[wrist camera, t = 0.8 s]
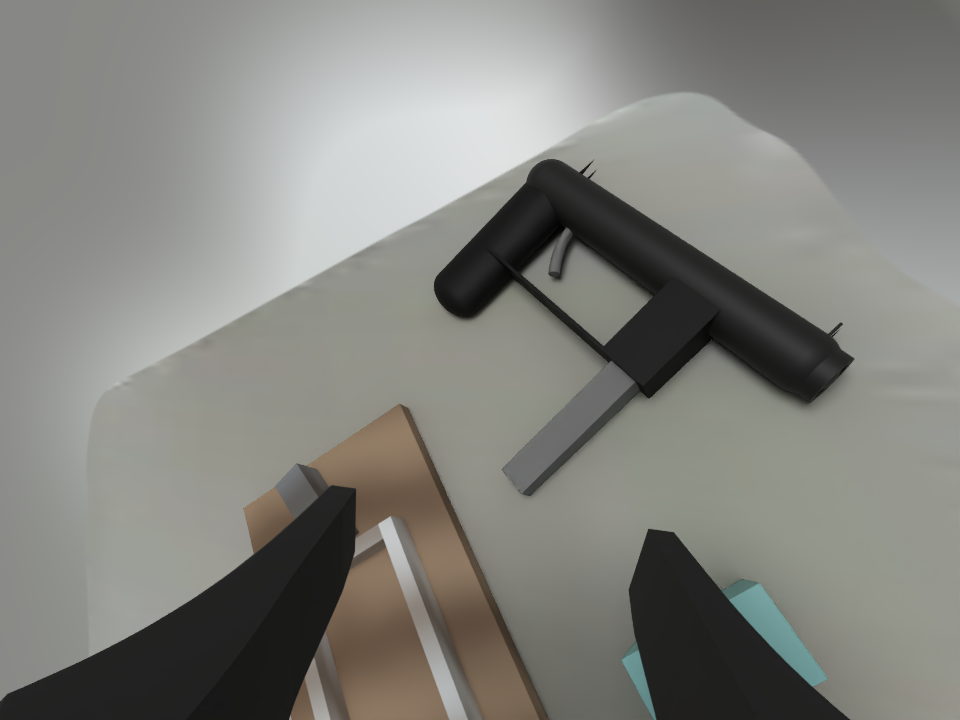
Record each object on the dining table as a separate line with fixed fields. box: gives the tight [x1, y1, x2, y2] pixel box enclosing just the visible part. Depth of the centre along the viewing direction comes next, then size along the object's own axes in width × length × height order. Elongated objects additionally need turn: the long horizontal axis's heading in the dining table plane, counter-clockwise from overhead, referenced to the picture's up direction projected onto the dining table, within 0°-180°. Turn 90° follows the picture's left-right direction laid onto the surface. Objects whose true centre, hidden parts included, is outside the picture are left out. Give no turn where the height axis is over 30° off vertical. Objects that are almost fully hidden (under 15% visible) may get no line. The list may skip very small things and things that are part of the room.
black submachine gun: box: [434, 159, 854, 496], centre depth 28 cm, size 3×20×16 cm
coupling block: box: [621, 579, 828, 720], centre depth 19 cm, size 3×5×7 cm, turn 117°
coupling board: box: [244, 404, 548, 720], centre depth 25 cm, size 23×12×3 cm, turn 27°
